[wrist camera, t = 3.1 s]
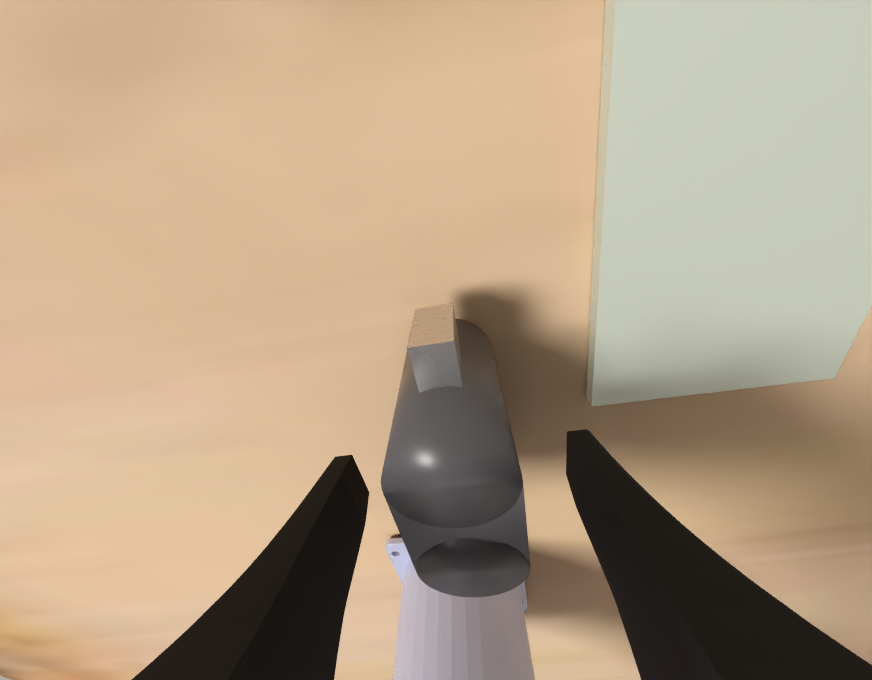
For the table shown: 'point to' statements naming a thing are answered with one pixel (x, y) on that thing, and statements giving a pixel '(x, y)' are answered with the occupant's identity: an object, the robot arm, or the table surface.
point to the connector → (455, 463)
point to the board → (730, 195)
